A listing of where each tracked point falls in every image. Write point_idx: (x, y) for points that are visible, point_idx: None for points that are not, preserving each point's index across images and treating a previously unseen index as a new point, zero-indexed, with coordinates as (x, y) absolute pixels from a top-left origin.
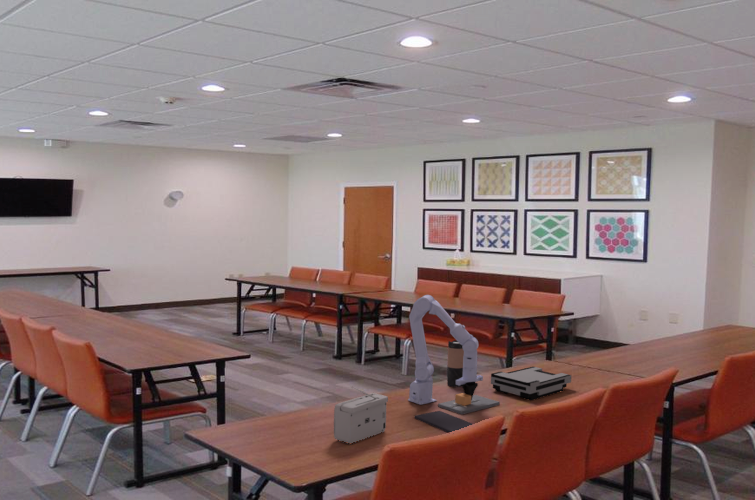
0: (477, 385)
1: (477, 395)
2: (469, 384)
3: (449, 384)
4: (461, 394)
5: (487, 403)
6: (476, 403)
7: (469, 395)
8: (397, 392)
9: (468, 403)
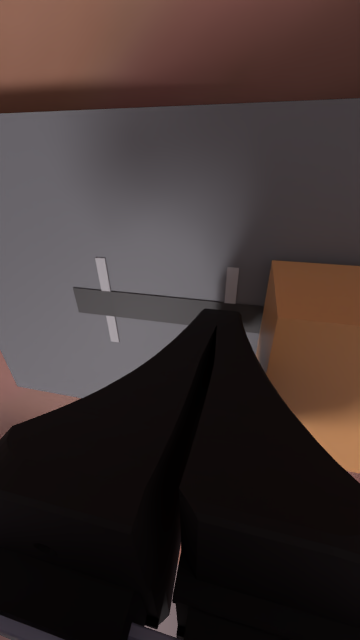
0: (19, 432)
1: (13, 372)
2: (248, 597)
3: None
4: (329, 436)
5: (55, 165)
6: (168, 251)
7: (285, 345)
8: None
9: (328, 269)
